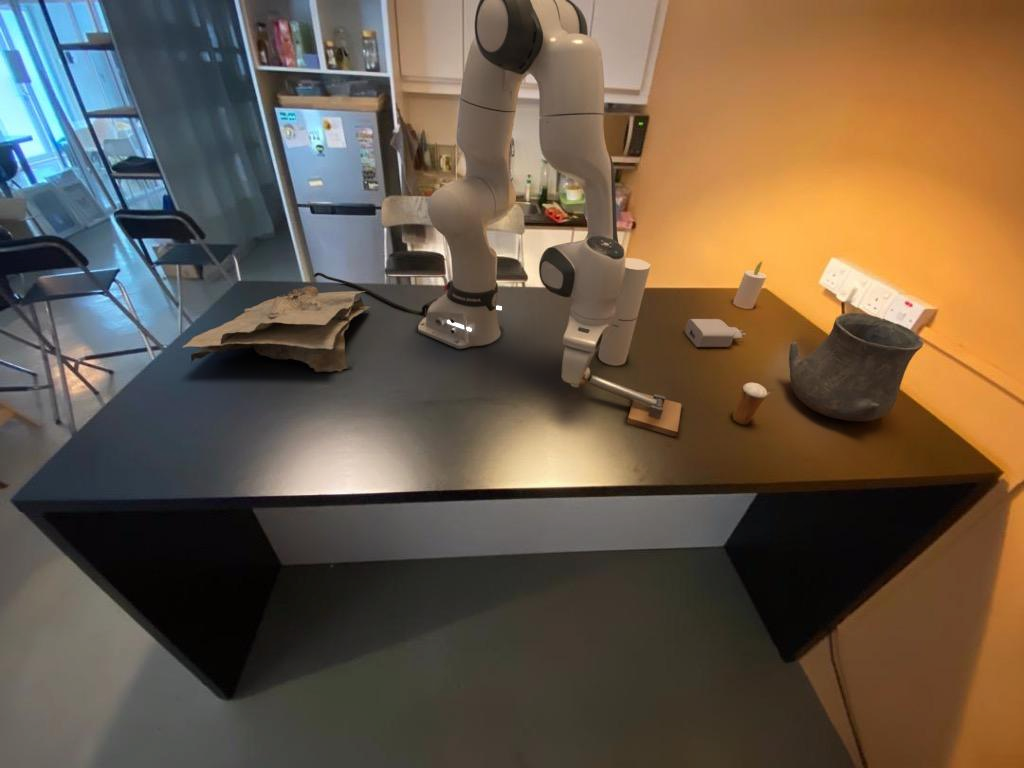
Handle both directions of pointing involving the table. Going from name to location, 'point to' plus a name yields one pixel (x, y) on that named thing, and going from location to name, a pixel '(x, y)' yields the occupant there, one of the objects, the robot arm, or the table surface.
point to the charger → (711, 333)
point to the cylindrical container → (625, 313)
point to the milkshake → (749, 402)
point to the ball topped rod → (619, 390)
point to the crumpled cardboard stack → (290, 329)
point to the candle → (749, 288)
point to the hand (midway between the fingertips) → (579, 377)
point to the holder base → (656, 416)
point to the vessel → (854, 368)
